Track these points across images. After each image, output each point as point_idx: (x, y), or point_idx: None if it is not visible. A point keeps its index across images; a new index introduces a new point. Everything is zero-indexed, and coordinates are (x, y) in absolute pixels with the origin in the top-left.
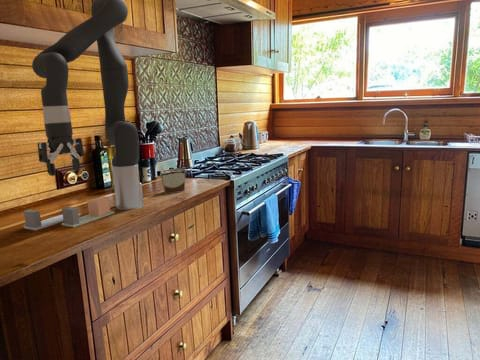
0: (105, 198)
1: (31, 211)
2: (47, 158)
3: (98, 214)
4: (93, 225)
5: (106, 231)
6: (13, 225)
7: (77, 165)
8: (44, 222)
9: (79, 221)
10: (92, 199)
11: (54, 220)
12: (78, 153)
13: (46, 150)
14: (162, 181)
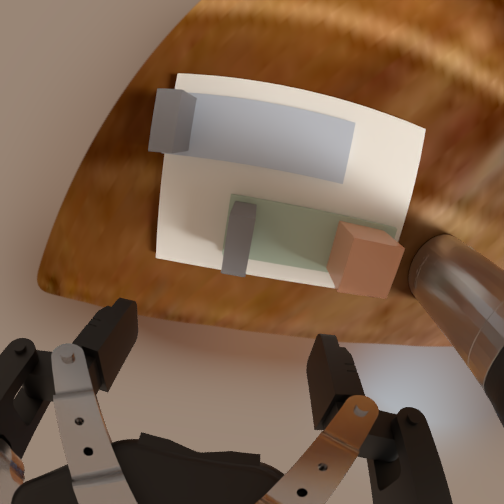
0: (390, 283)
1: (158, 127)
2: (45, 409)
3: (328, 267)
4: None
5: (247, 329)
6: (223, 6)
7: (313, 393)
8: (223, 125)
9: (262, 242)
10: (376, 242)
11: (252, 142)
12: (378, 451)
13: (19, 454)
14: None
